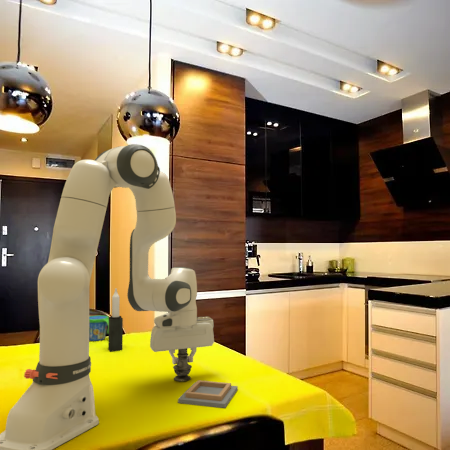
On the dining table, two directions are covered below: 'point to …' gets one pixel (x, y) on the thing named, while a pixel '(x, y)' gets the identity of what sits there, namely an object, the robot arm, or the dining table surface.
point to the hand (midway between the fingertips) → (182, 362)
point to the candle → (115, 326)
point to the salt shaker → (182, 366)
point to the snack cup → (98, 327)
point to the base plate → (209, 394)
